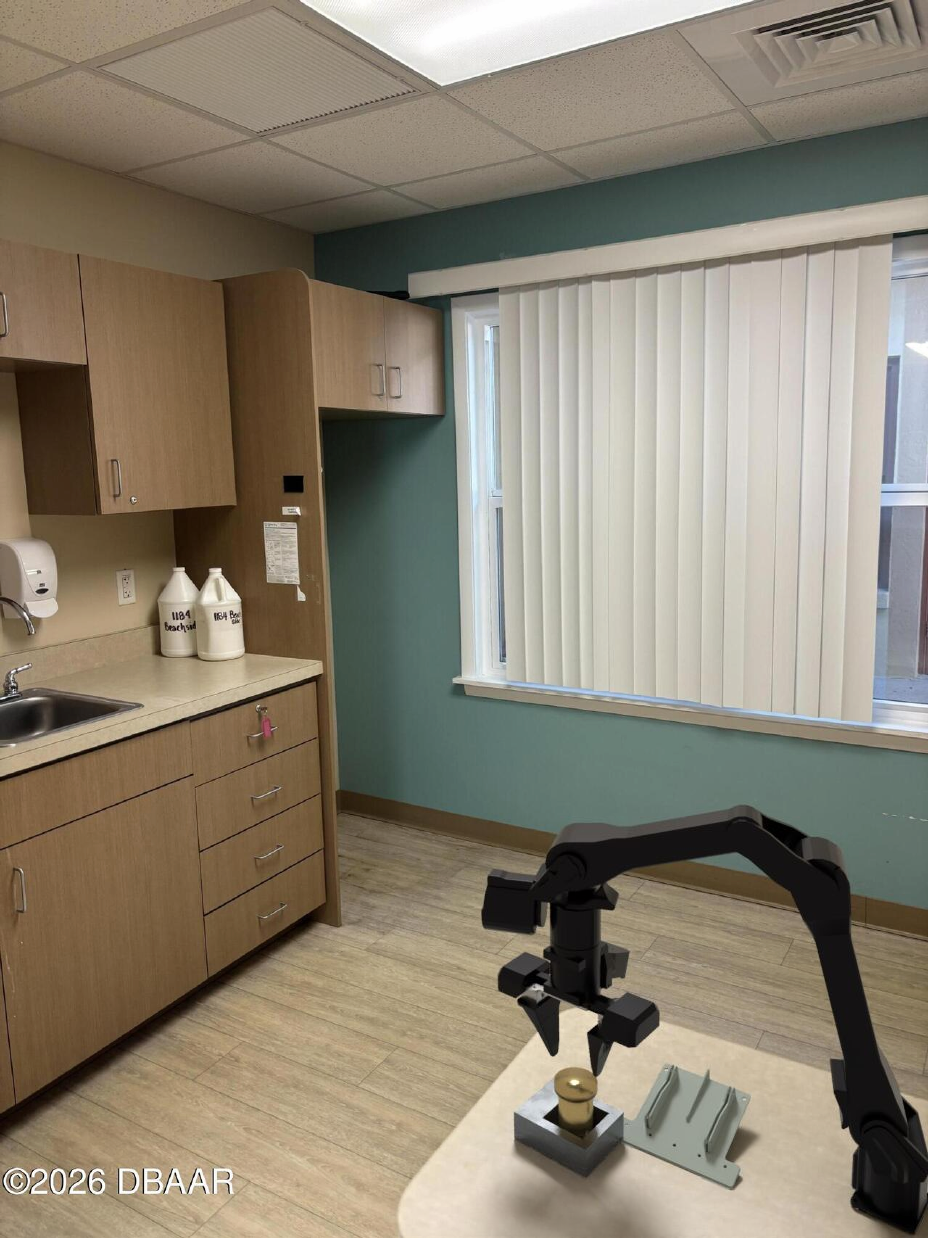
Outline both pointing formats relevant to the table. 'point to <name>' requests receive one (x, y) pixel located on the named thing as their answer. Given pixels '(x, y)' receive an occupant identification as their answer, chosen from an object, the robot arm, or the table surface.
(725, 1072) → the table surface
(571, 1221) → the table surface
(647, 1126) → the metal bracket
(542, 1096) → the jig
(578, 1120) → the knob
